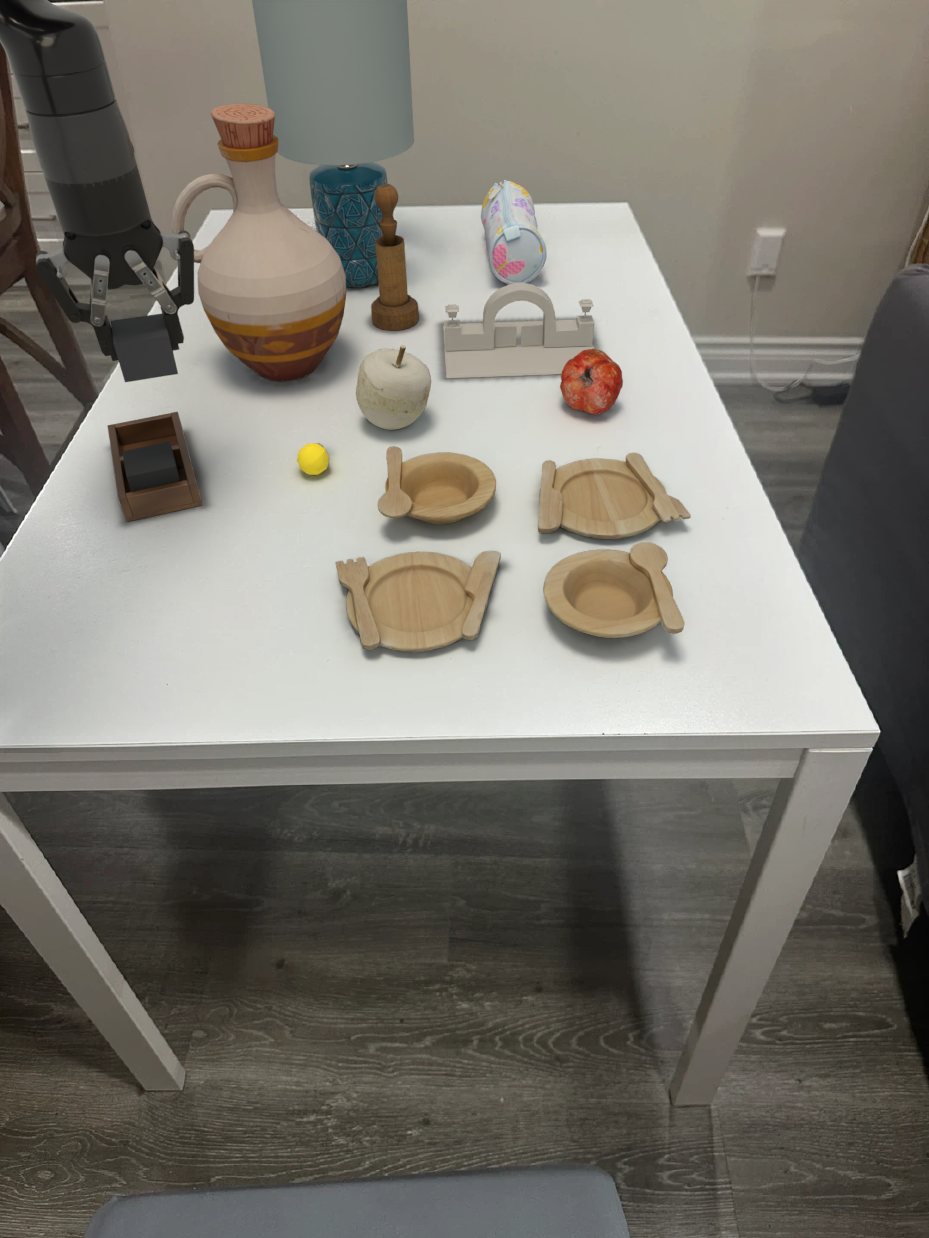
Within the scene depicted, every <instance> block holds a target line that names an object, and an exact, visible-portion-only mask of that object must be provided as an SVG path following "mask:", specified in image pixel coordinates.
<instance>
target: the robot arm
mask: <svg viewBox="0 0 929 1238" xmlns="http://www.w3.org/2000/svg"><path fill="white" fill-rule="evenodd" d="M0 44H1V46H2V48H3V50H4V52H5V55H6V57H7V60H8V63H9V65H10V69H11V72H12V75H13V78H14V81H15V84H16V88H17V90H18V93H19V97H20V100H21V103H22V106H23V108H24V111H25V114H26V118H27V123H28V127H29V132H30V137H31V141H32V144H33V147H34V151H35V154H36V156H37V157H36V158H37V160H38V163H39V165H40V168H41V171H42V174H43V177H44V180H45V184H46V186H47V189H48V192H49V195H50V198H51V201H52V204H53V207H54V210H55V213H56V216H57V218H58V221H59V225H60V227H61V230H62V234H63V242H62V247H60V248H57V249H55V250H53V251H50V252H48V251H46V250H39V251H38V252H37V253H36V255H35V257H36V258H35V264H36V265H35V268H36V271H37V273H38V275H39V276H40V278H41V279H42V281H43V282H44V283H45V284H46V286H47V288H48V289H49V291H50V293H51V295H52V296H53V298H54V299H55V300H56V302H57V303H58V305H59V307H60V308H61V309H62V311H63V313H64V315H65V316H66V317H67V319H68V320H69V321H70V322H71V323H73V324H79V323H80V322H82V323H87V324H89V325H91V326H92V328H93V330H94V333H95V337H96V339H97V342H98V346H99V348H100V351H101V354H103V355H104V357H110V358H111V360H112V362H117V361H118V357H117V354H116V351H115V347H114V344H113V336H112V329H111V322H110V320H109V317H108V315H106V308H107V307H106V305H107V300H108V290H116V289H119V288H121V287H124V286H140V285H143V286H144V287H145V288H146V290H147V291H148V292H149V294H150V295H151V296H152V297H154V299H155V301H156V302H157V303H158V305H159V306H160V310H161V314H162V315H163V319H164V322H165V326H166V329H167V331H168V335H169V339H170V343H171V347H172V351H173V352H174V351H179V350H181V349H180V346H179V344H184V341H185V336H184V332H183V329H182V325H181V321H180V317H179V309H180V308H182V307H183V306H186V305H187V306H189V305H192V304H193V303H194V302H195V262H194V249H195V245H194V241H193V239H192V235H191V234H190V232H188V231H187V230H185V229H184V230H183V231H180V232H179V233H178V234H173V233H169V232H161V230H160V229H159V227H157V226H156V224H155V223H154V221H153V220H152V215H151V211H150V207H149V204H148V201H147V196H146V193H145V189H144V185H143V182H142V177H141V173H140V170H139V166H138V163H137V159H136V156H135V147H134V145H133V143H132V141H131V137H130V134H129V130H128V126H127V124H126V121H125V119H124V116H123V113H122V111H121V109H120V106H119V103H118V100H117V98H116V94H115V89H114V86H113V82H112V78H111V75H110V71H109V68H108V67H109V66H108V64H107V61H106V56H105V52H104V48H103V45H102V42H101V39H100V36H99V33H98V31H97V28H96V26H95V25H94V23H93V22H92V20H90V18H88V17H87V16H85V15H83V14H81V13H79V12H76V11H73V10H69V9H67V8H64V7H61V6H58V5H57V4H54V3H53V2H50V1H49V0H0ZM163 248H165V249H167V250H168V252H169V256H170V257H171V259H172V260H173V261H177V286H176V287H174V288H172V289H171V290H170V288H169V286H168V285H167V284H166V283H165V281H164V280H163V278H162V276H161V274H160V273H159V271H158V270H157V268H156V267H155V266H156V263H157V261H158V259H159V256H160V254H161V252H162V249H163ZM67 262H69V263H70V264H72V265H73V266H74V267H75V268H77V269H78V270H79V271H80V272H81V273H83V274H84V275H85V276H87V277H88V278H89V279H90V284H89V285H90V286H89V287H90V289H89V290H90V291H89V303H85V302H80V300H79V299H78V297H77V296H76V294H75V292H74V291H73V289H72V288H71V286H70V284H69V283H68V281H67V280H66V278H65V277H66V276H67V266H66V264H67Z"/></svg>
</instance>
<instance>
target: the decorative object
mask: <svg viewBox="0 0 929 1238" xmlns="http://www.w3.org/2000/svg"><path fill="white" fill-rule="evenodd" d="M406 349H407V346H406V345H404V344H401V345H400V347H399V349H395V348H380V349H378V350H375V351H372V352H370V353H369V354H367V355H366V356H365V357H363V359H362V360H361V363H360V365H359V368H358V373H357V381H356V387H355V397H356V402H357V405H358V408H359V410H360V412H361V414H362V415H363V416H364V417H365V418H366V420H368V422H369V423H371V424H372V425H374V426H375V427H378V428H380V429H383V430H389V431H390V430H391V431H393V430H400V429H403V428H405V427H406V428H407V427H408V426H410V425H412V424H413V423H414V422H415V421H416V420H417V419H419V417H420V416H421V415H422V414H423V412H424V411H425V409H426V407H427V404H428V402H429V397H430V392H431V388H432V375H431V372H430V368H429V367H428V365H426V364H425V363H424V361H422V360H421V359H419V358H418V357H417V356H415V355H413V354H411V353H409V352H407V351H406Z"/></svg>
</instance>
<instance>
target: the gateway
mask: <svg viewBox="0 0 929 1238" xmlns="http://www.w3.org/2000/svg"><path fill="white" fill-rule="evenodd" d="M520 301H522V302H528V303H531V304H533V305H535V306H537V307H538V308H539V309H540V310H541V311H542V313H543V315H542V320H541V321H542V324H535V325H522V326H521V327H520V346H521V347H534V346H543V348H544V349H546V348H574V347H592V346H593V347H594V343H593V341H594V332H595V322H594V318H593V315H592V314H589V315H588V314H587V313H590V312H591V309H592V307H595V306H594V302H593V300H591V299H590V298H587V299H585V298H584V299H581V300H578V304H579V307H580V308H581V311H582V313H584V315H576V317H575V319H573V320H574V321H572V322H557V320H558V319H557V318H556V311H555V307H554V304H553V302H552V299H551V297H550V296H549V294H548V293H546V292H545V291H544V290H543V289H542V288H541V287H538V286H537V285H534V284H531V283H513V284H506V285H504V286H502V287H500V288H499V289H497V290H495V291H494V292H493V293H492V294H491V295H490V296H489V298H488V299H487V301H486V302H485V304H484V307H483V312H482V322H481V323H482V325H464V324H465V323H461V320H460V319H454V318H457V314H458V313H459V312H460V306H459V305H457V304H447V305H445V306H444V307H445V308H444V310H445V313H447V315H448V318H449V319H447V320H446V319H445V320H444V324H442V326H443V327H442V329H443V347H444V348H443V349H444V352H445V351H446V352H462V351H490V350H494V349H495V348H510V347H516V346H517V330H518V327H517V326H516V325H507V326H495V322H496V317H497V315H498V313H499V312H500V311H501V310H502V309H503V308H504V307H506V306H508V305H509V304H512V303H515V302H520Z"/></svg>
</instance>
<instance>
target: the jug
mask: <svg viewBox="0 0 929 1238" xmlns="http://www.w3.org/2000/svg"><path fill="white" fill-rule="evenodd" d="M210 116H211V118H212V120H213V124H214V125H215V127H216V131H217V132H218V135H219V138H220V140H218V141H217V147H218V150H219V154H220V155H221V156H222V158H224V159H225V162H226V164H227V167H228V169H229V172H230V174H231V176H229V175H226V174H224V173H207V174H205V175H202V176H198V177H197V178H195V179H193V180H192V181H191V182H189V183H188V184H187V185H186V186H185V187H184V188H183V190H182V191H181V192H180V193H179V195H178V197H177V199H176V201H175V203H174V206H173V208H172V214H171V234H178V233H179V232H180V231H183V230H184V231H185V222H186V221H185V219H186V217H187V216H186V215H187V213H188V211H189V208H190V207H191V205H192V203H193V202H194V201H195V200H196V198H197V197H198V196H200V195H201V194H202V193H203V192H204V191H207V190H209V189H214V188H215V189H216V188H220V189H224V190H226V191H228V193H229V194H230V196H231V199H232V205H233V209H232V214H230V217H229V219H228V220H227V221H226V223H225V224H224V225H223V227H222V229H221V230H220V231H219V232H218V233H217V234H216V236H215V237H214V238H213V240H212V241H211V242H210V243H209V244H208V245H207V246H205V248H202V249H199V250H198V249H195V248H194V264H195V263H196V264H199V266H198V270H197V291H198V293H197V294H198V296H199V300H200V302H201V306H202V309H203V311H204V313H205V315H206V317H207V319H208V321H209V324H210V325H211V327H212V329H213V331H214V333H215V335H216V336H217V337H218V339H219V340H220V341H221V343H222V344H223V346H224V347H225V349H227V351H228V352H229V353H230V354H232V355H233V356H234V357H235V358H236V359H237V360H238V361H240V362H241V363H242V364H243V365H245V366H246V367H248V368H249V370H251V371H252V372H254V373H255V374H257V375H258V376H259V377H261V378H263V379H264V380H267V381H271V382H272V381H273V382H292V381H297V380H301V379H304V378H305V377H308V376H310V375H311V374H313V373H314V372H315V371H316V370H317V368H318V367H319V366H320V364H321V363H322V361H323V360H324V359H325V357H326V356H327V355H328V353H329V352H330V350H331V349H332V347H333V345H334V343H335V341H336V340H337V338H338V336H339V333H340V329H341V325H342V324H343V320H344V314H345V308H346V300H347V287H346V276H345V273H344V269H343V266H342V263H341V260H340V257H339V255H338V254H337V253H336V251H335V250H334V248H333V247H332V246H331V244H330V243H329V242H328V241H327V239H325V238H324V237H323V236H322V235H321V234H319V233H318V232H317V231H316V229H314V228H313V227H312V226H310V225H309V224H307V223H306V222H305V221H303V220H302V219H300V218H299V217H298V216H297V215H296V214H295V213H294V212H293V211H291V210H290V209H289V208H288V207H287V206H286V205H285V204H283V203H282V201H281V199H280V197H279V195H278V189H277V179H276V155H277V154H278V153H277V152H278V138H277V137H276V136H274V135H273V130H274V121H275V113H274V111H273V110H271V109H270V108H268V106H263V105H261V104H252V103H229V104H223V105H219V106H216V107H214V108H213V109H211V111H210Z"/></svg>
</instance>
